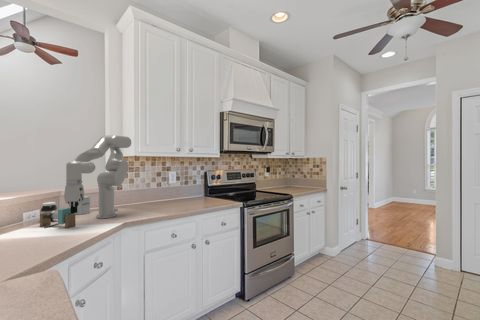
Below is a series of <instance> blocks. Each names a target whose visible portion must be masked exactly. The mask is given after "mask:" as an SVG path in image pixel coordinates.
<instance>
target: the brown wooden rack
mask: <svg viewBox="0 0 480 320" xmlns="http://www.w3.org/2000/svg"><path fill="white" fill-rule="evenodd" d="M51 219H58V214H55V213H51V212H47V213H42V214H41V213H40V214H39V227H40V228H41V227H42V228H44V229H47V228H51V227H54V226H58V225H59V224H58V223H54V224H52V221H51ZM73 227H74V228H75V227H76V214H65V224H64V228H65V229H70V228H73Z"/></svg>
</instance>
